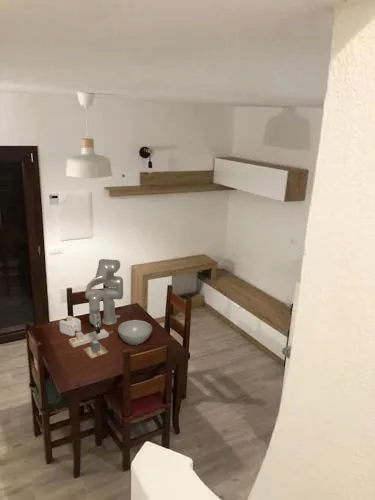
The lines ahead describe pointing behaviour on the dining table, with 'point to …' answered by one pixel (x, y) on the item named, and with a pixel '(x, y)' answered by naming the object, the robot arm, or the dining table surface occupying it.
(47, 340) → the dining table surface
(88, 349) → the beige square cloth
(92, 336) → the power strip
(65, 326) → the cable organizer
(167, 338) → the dining table surface
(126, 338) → the decorative bowl
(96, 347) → the charger
